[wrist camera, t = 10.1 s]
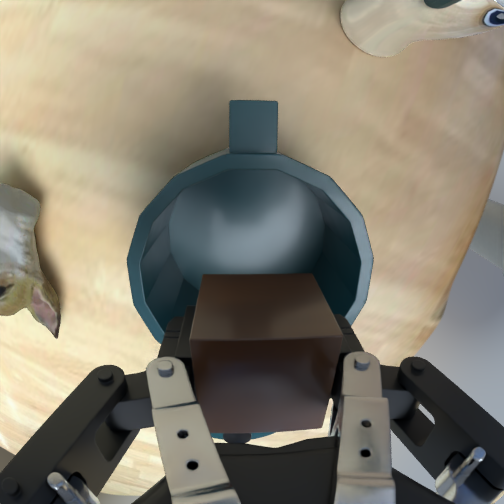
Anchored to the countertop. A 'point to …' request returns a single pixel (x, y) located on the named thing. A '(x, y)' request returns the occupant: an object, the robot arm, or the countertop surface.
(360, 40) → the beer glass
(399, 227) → the countertop surface
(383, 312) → the countertop surface
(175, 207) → the pot
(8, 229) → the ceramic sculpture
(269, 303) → the block
